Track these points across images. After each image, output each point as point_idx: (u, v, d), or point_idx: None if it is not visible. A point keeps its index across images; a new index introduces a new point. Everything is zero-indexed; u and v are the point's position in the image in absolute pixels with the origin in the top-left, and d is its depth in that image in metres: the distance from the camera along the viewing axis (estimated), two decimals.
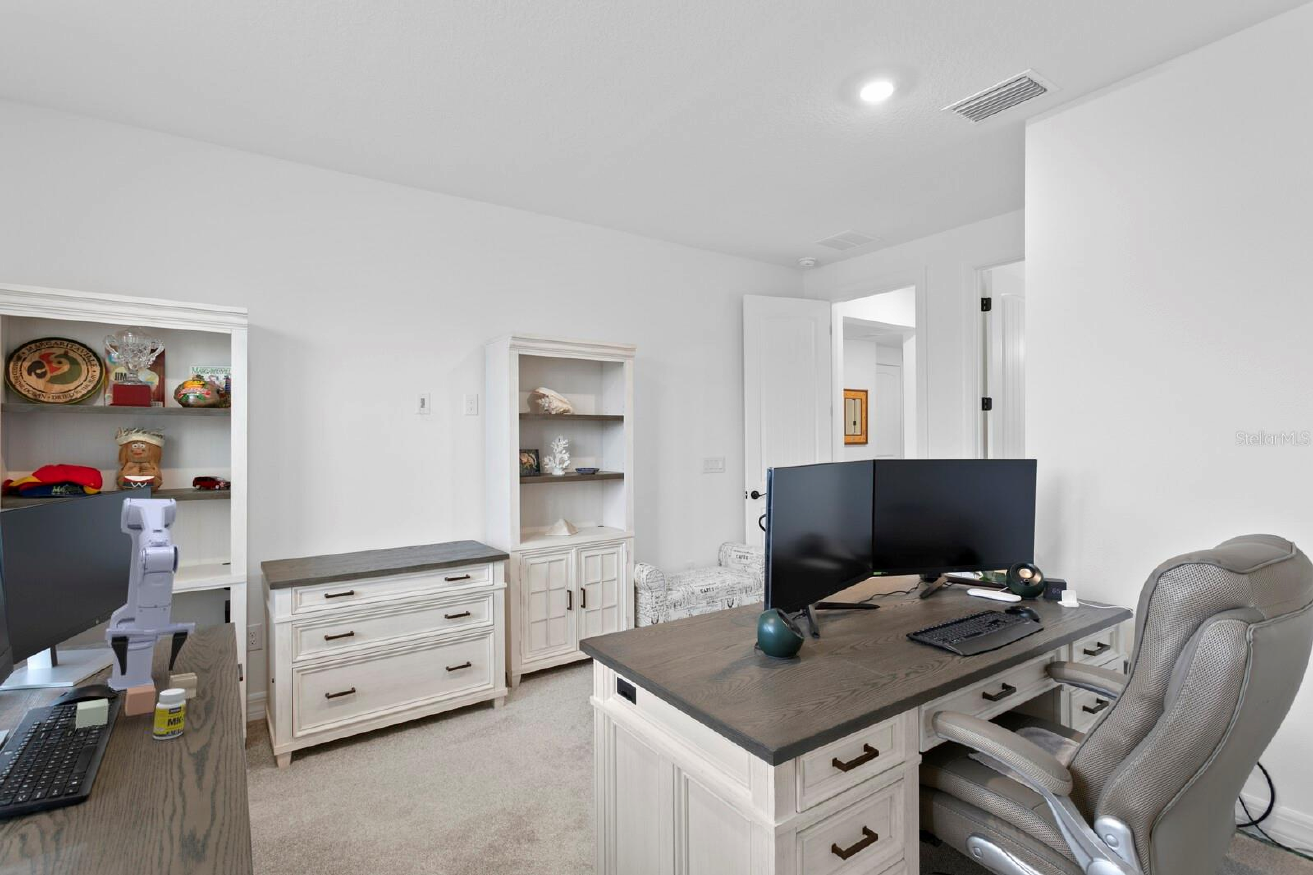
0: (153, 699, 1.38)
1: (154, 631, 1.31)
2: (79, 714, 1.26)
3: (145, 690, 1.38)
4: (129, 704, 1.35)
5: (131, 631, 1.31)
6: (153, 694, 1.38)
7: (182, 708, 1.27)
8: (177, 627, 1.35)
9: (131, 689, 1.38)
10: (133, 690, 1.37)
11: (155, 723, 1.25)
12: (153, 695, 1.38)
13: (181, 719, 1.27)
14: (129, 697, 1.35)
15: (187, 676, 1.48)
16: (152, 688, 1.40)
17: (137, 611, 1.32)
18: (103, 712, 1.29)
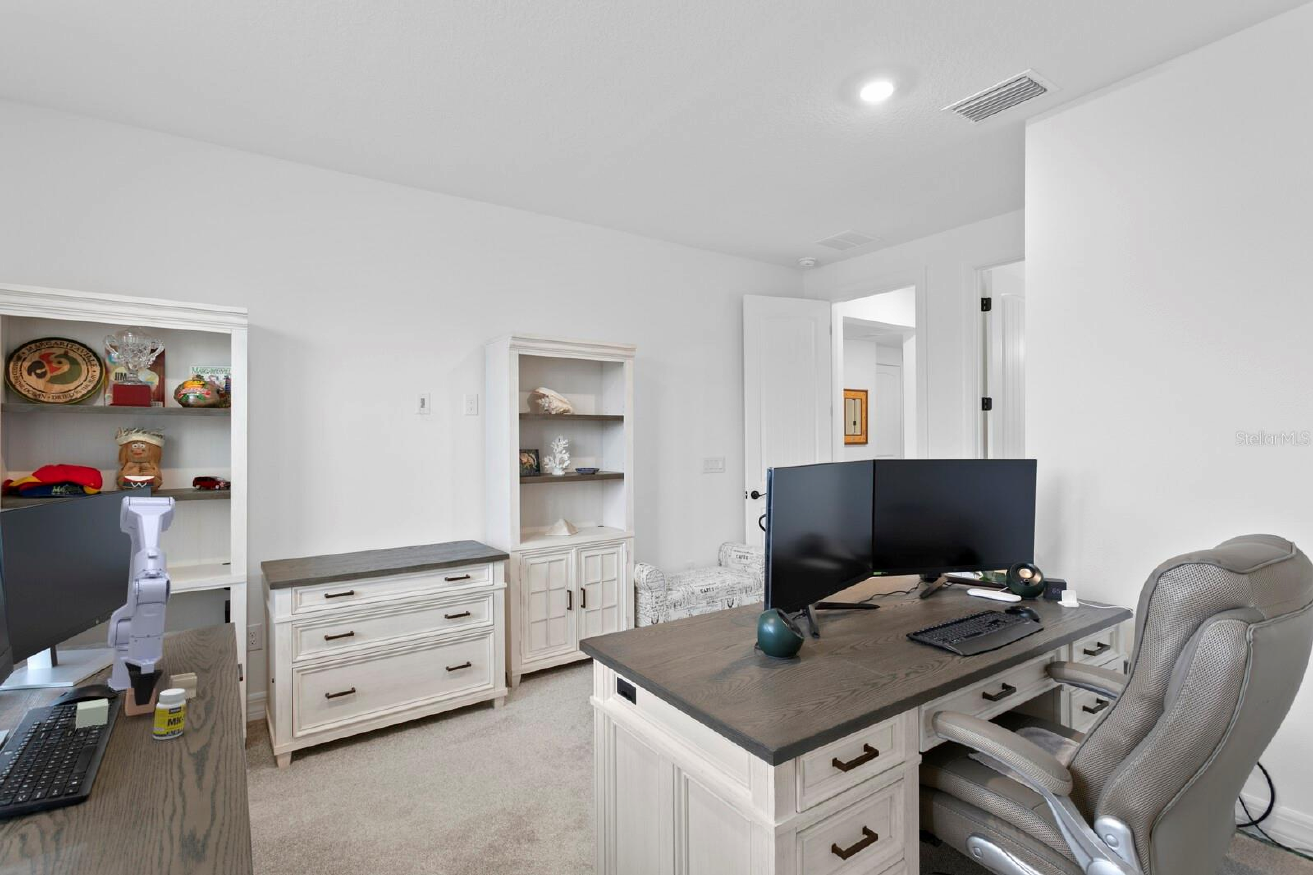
0: (153, 699, 1.38)
1: (121, 659, 1.36)
2: (79, 714, 1.26)
3: None
4: (129, 704, 1.35)
5: None
6: (153, 694, 1.38)
7: (182, 708, 1.27)
8: (137, 662, 1.35)
9: (130, 689, 1.38)
10: (133, 691, 1.37)
11: (155, 723, 1.25)
12: (153, 695, 1.38)
13: (181, 719, 1.27)
14: (129, 697, 1.35)
15: (187, 676, 1.48)
16: None
17: None
18: (103, 712, 1.29)
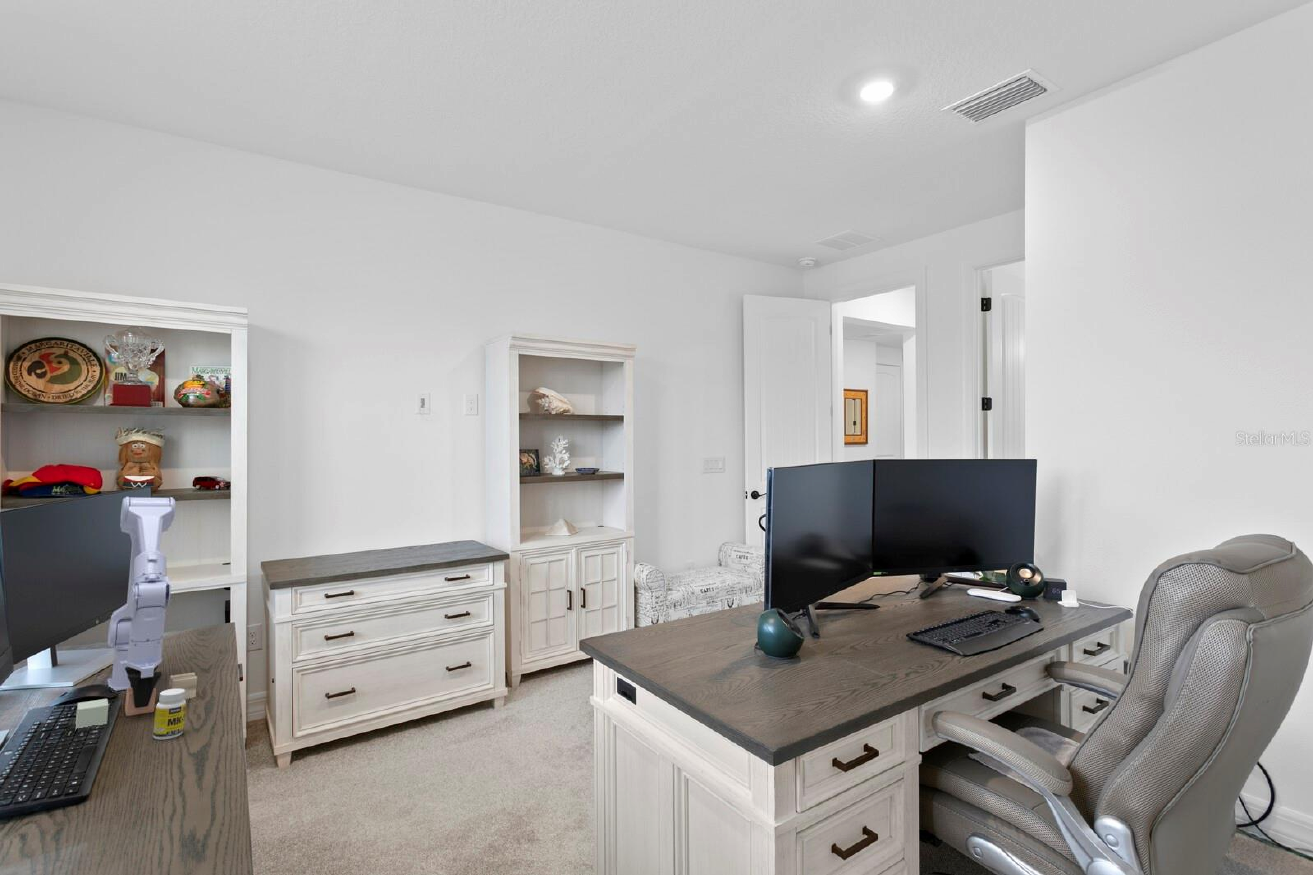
0: (153, 699, 1.38)
1: (121, 663, 1.36)
2: (79, 714, 1.26)
3: None
4: (129, 704, 1.35)
5: None
6: (153, 694, 1.38)
7: (182, 708, 1.27)
8: (136, 666, 1.35)
9: (131, 688, 1.38)
10: None
11: (155, 723, 1.25)
12: (153, 695, 1.38)
13: (181, 719, 1.27)
14: (129, 697, 1.35)
15: (187, 676, 1.48)
16: None
17: None
18: (103, 712, 1.29)
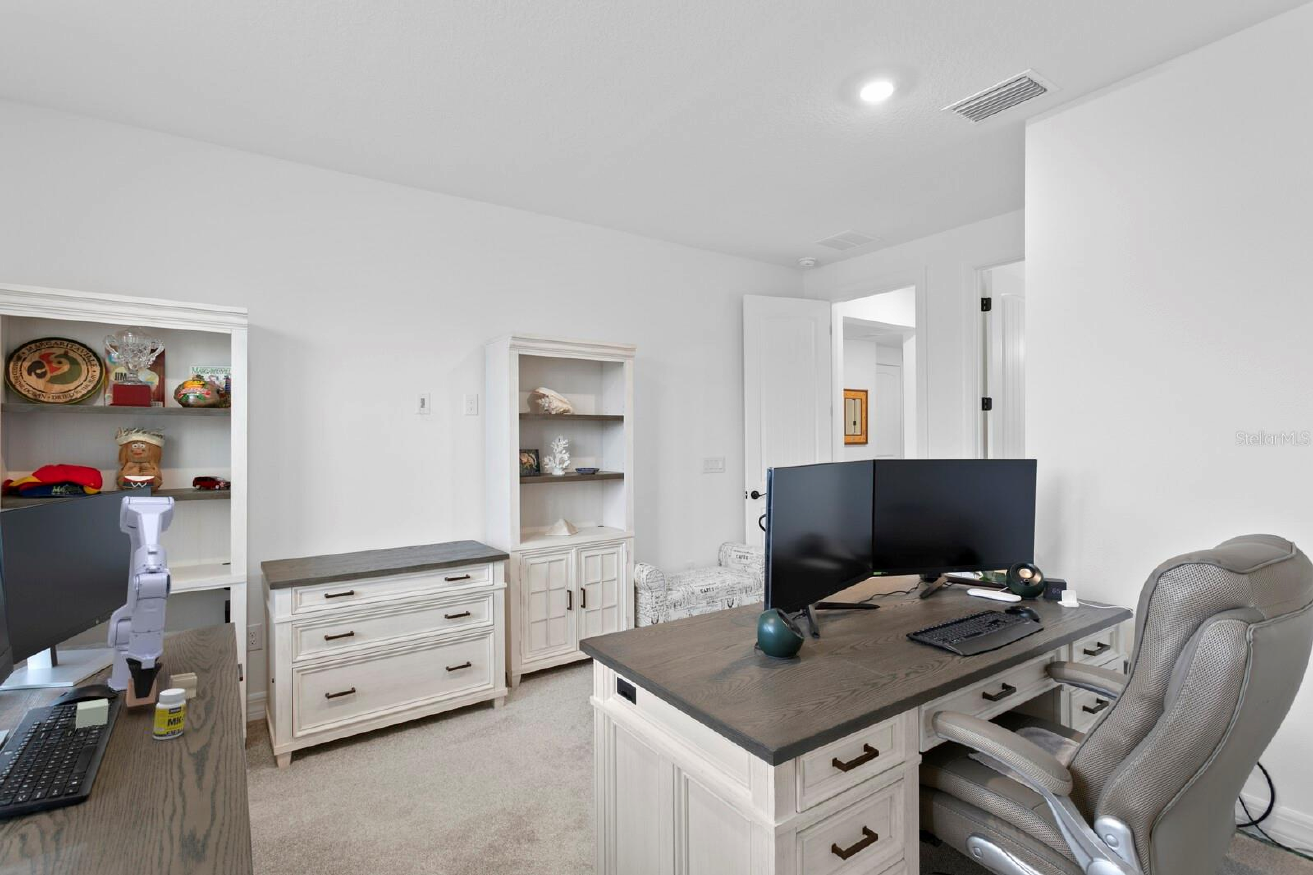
0: (154, 690, 1.38)
1: (122, 654, 1.36)
2: (79, 714, 1.26)
3: None
4: (130, 694, 1.36)
5: None
6: (154, 685, 1.38)
7: (182, 708, 1.27)
8: (137, 657, 1.35)
9: (131, 679, 1.38)
10: None
11: (155, 723, 1.25)
12: (154, 686, 1.38)
13: (181, 719, 1.27)
14: (130, 687, 1.36)
15: (187, 676, 1.48)
16: None
17: None
18: (103, 712, 1.29)
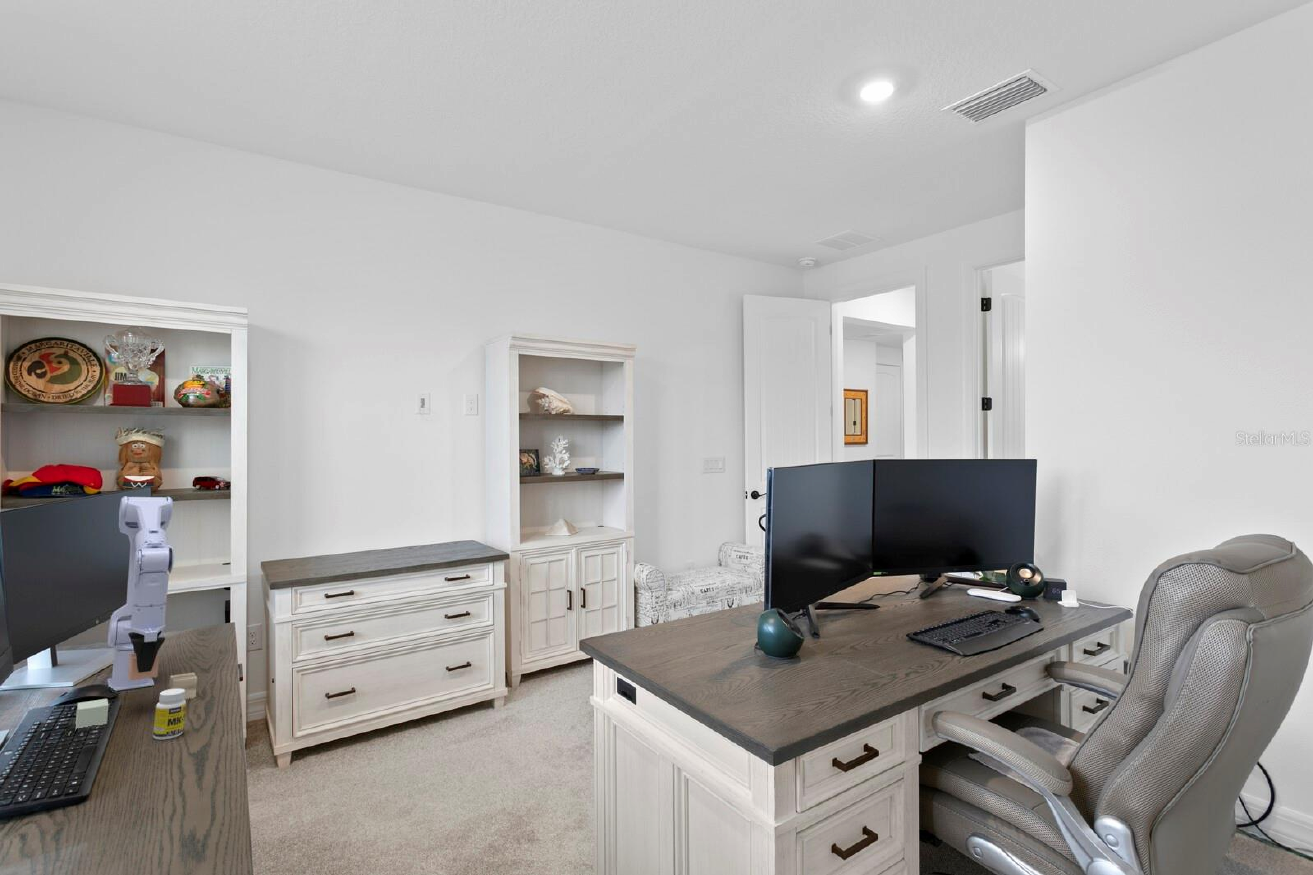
0: (156, 664, 1.39)
1: (124, 628, 1.36)
2: (79, 714, 1.26)
3: None
4: (132, 668, 1.36)
5: None
6: (156, 659, 1.39)
7: (182, 708, 1.27)
8: (140, 631, 1.35)
9: (134, 654, 1.39)
10: None
11: (155, 723, 1.25)
12: (157, 660, 1.39)
13: (181, 719, 1.27)
14: (132, 661, 1.36)
15: (187, 676, 1.48)
16: None
17: None
18: (103, 712, 1.29)
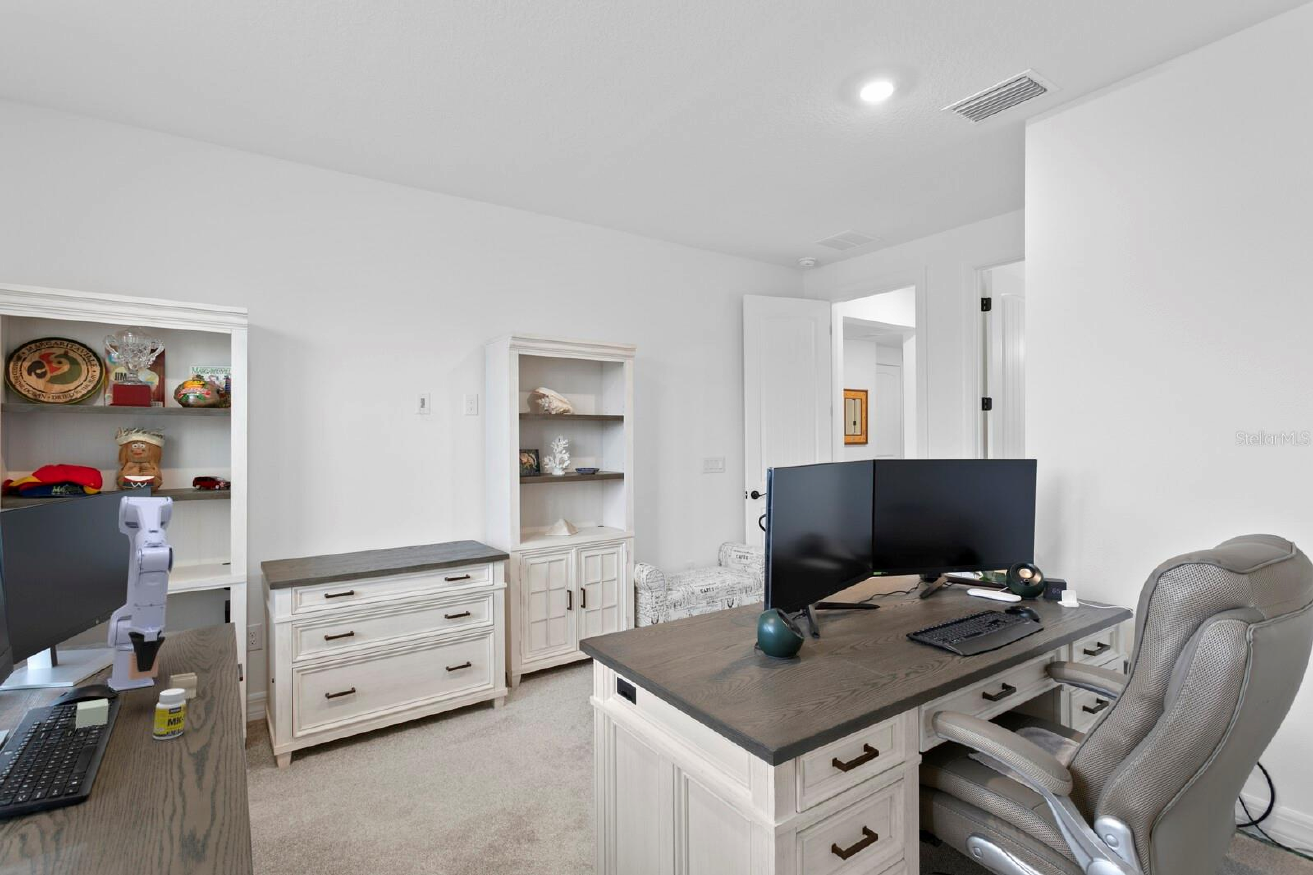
0: (156, 663, 1.39)
1: (124, 628, 1.36)
2: (79, 714, 1.26)
3: None
4: (133, 668, 1.36)
5: None
6: (156, 658, 1.39)
7: (182, 708, 1.27)
8: (140, 630, 1.35)
9: (134, 653, 1.39)
10: None
11: (155, 723, 1.25)
12: (157, 660, 1.39)
13: (181, 719, 1.27)
14: (133, 661, 1.36)
15: (187, 676, 1.48)
16: None
17: None
18: (103, 712, 1.29)
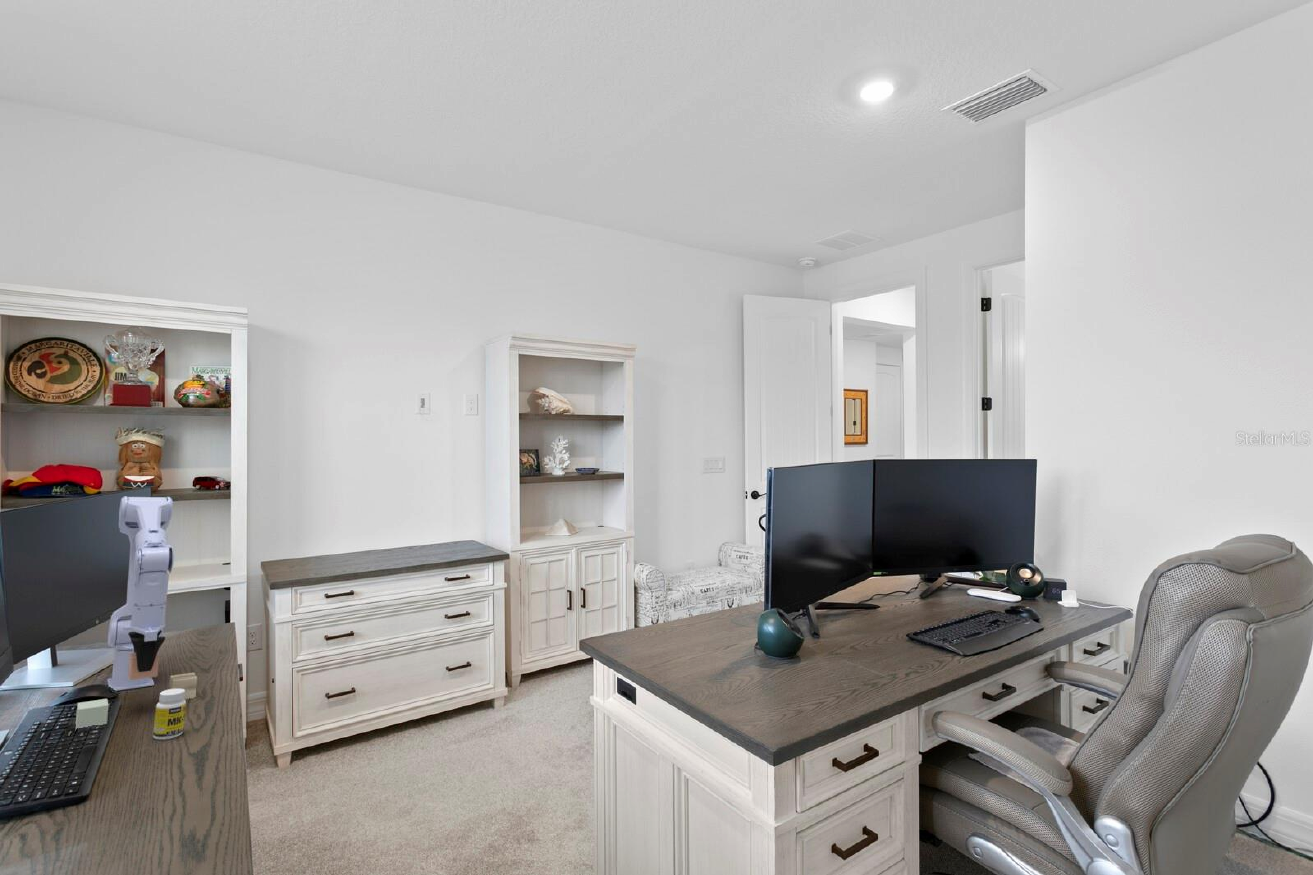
0: (156, 663, 1.39)
1: (124, 628, 1.36)
2: (79, 714, 1.26)
3: None
4: (133, 668, 1.36)
5: None
6: (156, 658, 1.39)
7: (182, 708, 1.27)
8: (140, 630, 1.35)
9: (134, 653, 1.39)
10: None
11: (155, 723, 1.25)
12: (157, 660, 1.39)
13: (181, 719, 1.27)
14: (133, 661, 1.36)
15: (187, 676, 1.48)
16: None
17: None
18: (103, 712, 1.29)
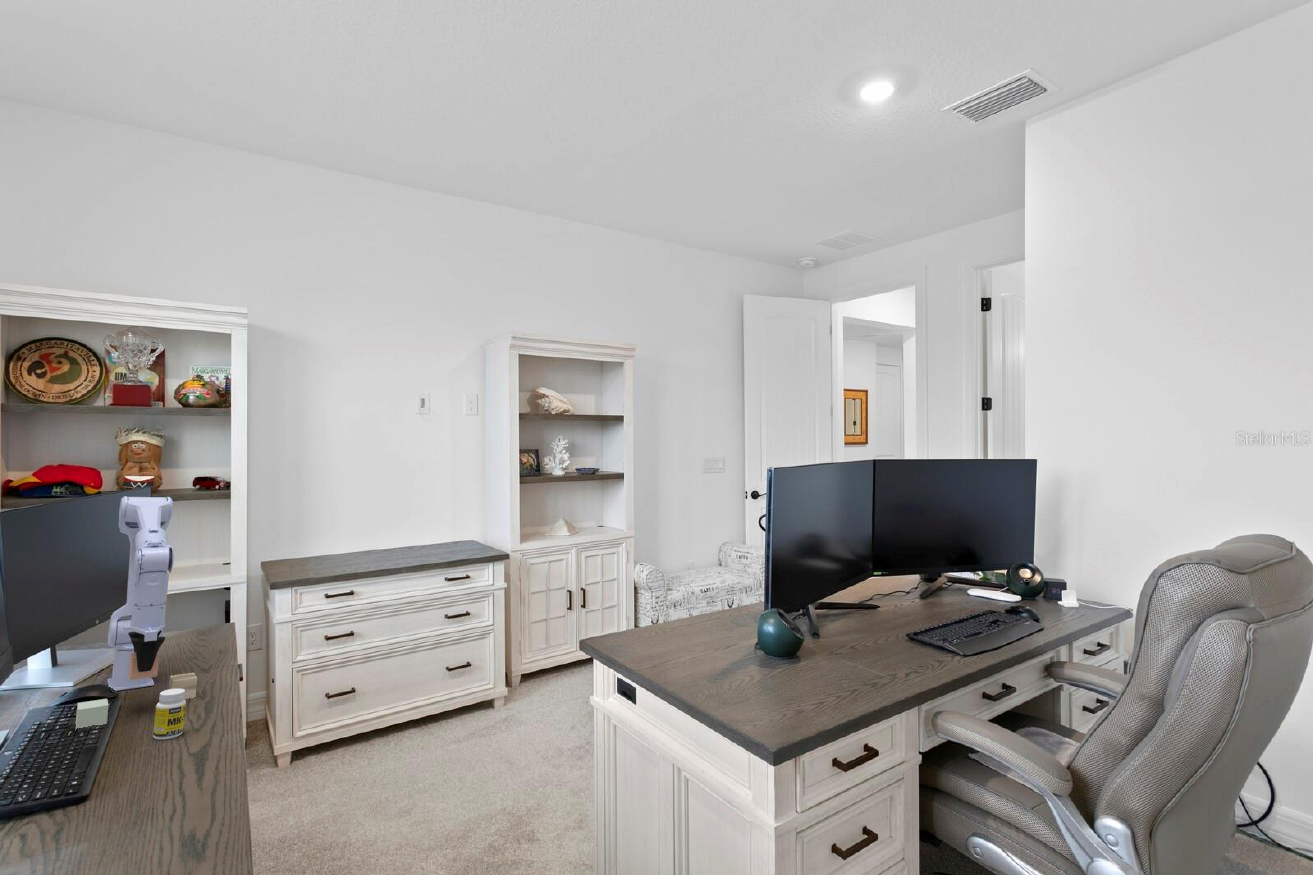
0: (156, 663, 1.39)
1: (124, 628, 1.36)
2: (79, 714, 1.26)
3: None
4: (133, 668, 1.36)
5: None
6: (156, 658, 1.39)
7: (182, 708, 1.27)
8: (140, 630, 1.35)
9: (134, 653, 1.39)
10: None
11: (155, 723, 1.25)
12: (157, 660, 1.39)
13: (181, 719, 1.27)
14: (133, 661, 1.36)
15: (187, 676, 1.48)
16: None
17: None
18: (103, 712, 1.29)
